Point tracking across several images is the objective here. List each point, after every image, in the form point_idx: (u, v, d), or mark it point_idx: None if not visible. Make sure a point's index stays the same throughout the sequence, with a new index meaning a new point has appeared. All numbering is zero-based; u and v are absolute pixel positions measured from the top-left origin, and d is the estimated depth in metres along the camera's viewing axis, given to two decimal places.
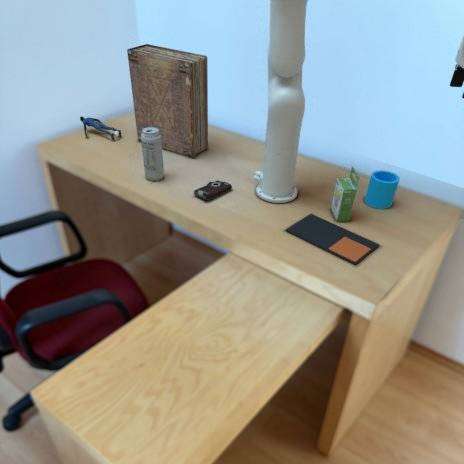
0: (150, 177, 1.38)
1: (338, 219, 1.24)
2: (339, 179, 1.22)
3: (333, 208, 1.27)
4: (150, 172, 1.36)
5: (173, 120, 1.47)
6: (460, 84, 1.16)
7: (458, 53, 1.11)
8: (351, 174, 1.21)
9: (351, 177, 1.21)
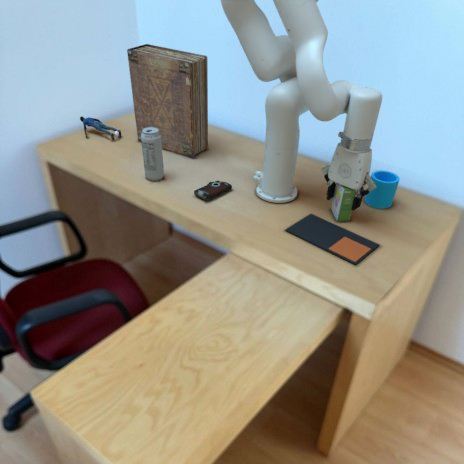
0: (150, 177, 1.38)
1: (338, 219, 1.24)
2: None
3: (333, 208, 1.27)
4: (150, 172, 1.36)
5: (173, 120, 1.47)
6: (333, 195, 1.26)
7: (333, 173, 1.18)
8: None
9: None
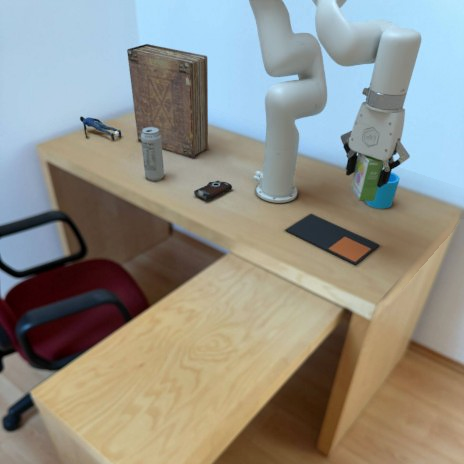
0: (150, 177, 1.38)
1: (361, 198, 1.02)
2: None
3: (353, 186, 1.05)
4: (150, 172, 1.36)
5: (173, 120, 1.47)
6: None
7: (355, 141, 0.96)
8: None
9: None
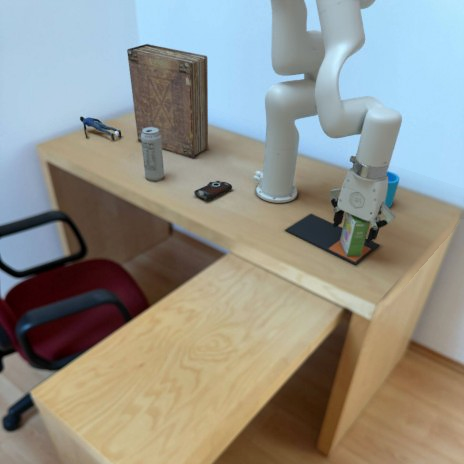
0: (150, 177, 1.38)
1: (348, 254, 1.10)
2: None
3: (342, 241, 1.13)
4: (150, 172, 1.36)
5: (173, 120, 1.47)
6: (341, 221, 1.12)
7: (343, 202, 1.05)
8: None
9: None
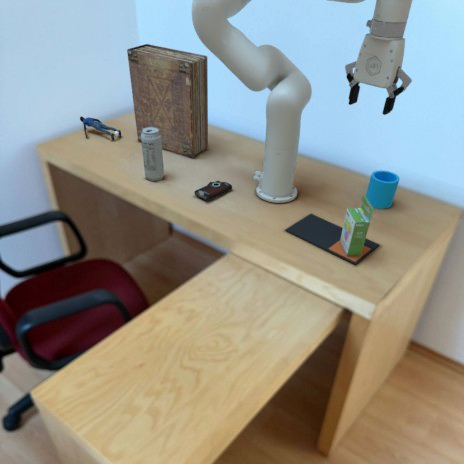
0: (150, 177, 1.38)
1: (348, 254, 1.10)
2: (350, 209, 1.09)
3: (342, 241, 1.13)
4: (150, 172, 1.36)
5: (173, 120, 1.47)
6: (356, 100, 1.13)
7: (359, 71, 1.05)
8: (363, 204, 1.08)
9: (364, 207, 1.08)
